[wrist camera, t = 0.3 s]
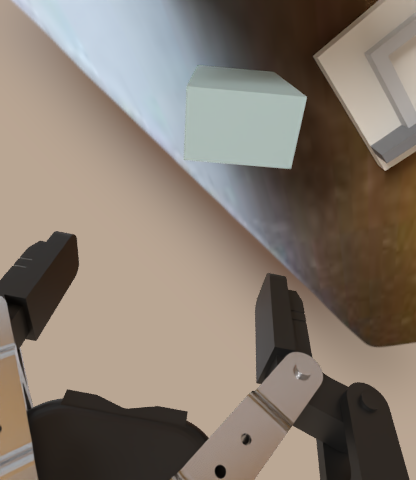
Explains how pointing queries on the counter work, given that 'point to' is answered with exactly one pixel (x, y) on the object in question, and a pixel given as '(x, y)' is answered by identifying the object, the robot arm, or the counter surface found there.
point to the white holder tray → (377, 77)
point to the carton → (242, 117)
